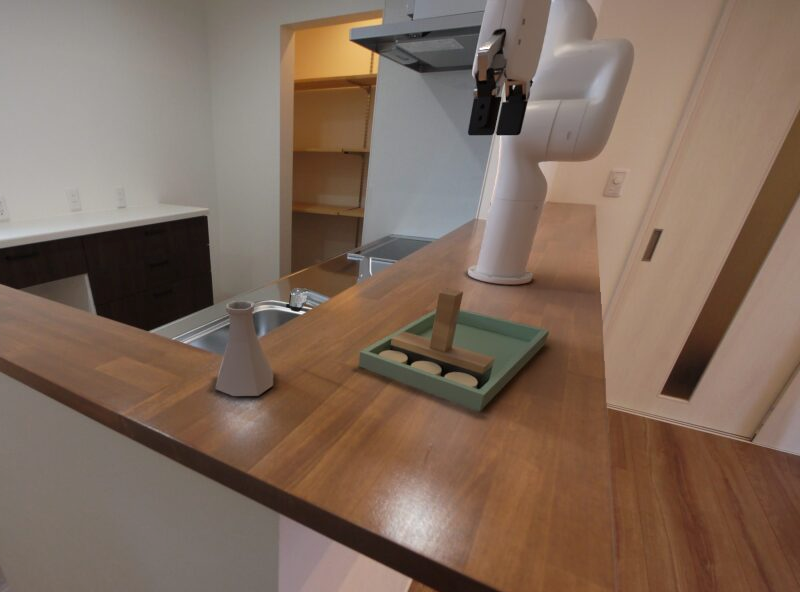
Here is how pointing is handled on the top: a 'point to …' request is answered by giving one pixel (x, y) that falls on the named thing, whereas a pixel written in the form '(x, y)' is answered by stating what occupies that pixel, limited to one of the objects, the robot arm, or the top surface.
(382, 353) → the crumb
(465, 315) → the tray
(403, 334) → the brush
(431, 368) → the crumb
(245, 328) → the flask
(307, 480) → the top surface
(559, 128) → the robot arm
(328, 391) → the top surface
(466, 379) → the crumb
